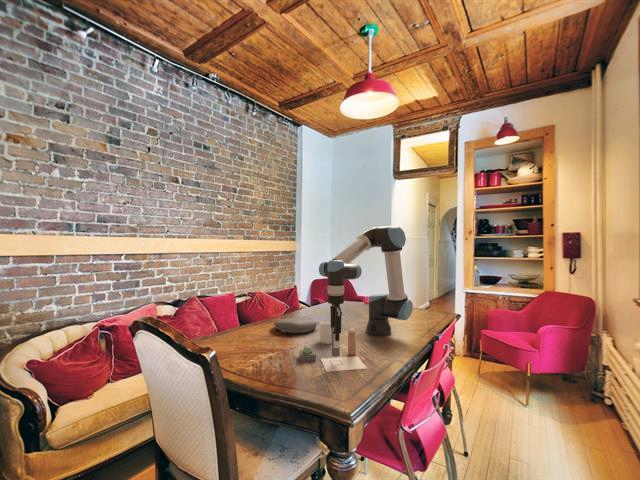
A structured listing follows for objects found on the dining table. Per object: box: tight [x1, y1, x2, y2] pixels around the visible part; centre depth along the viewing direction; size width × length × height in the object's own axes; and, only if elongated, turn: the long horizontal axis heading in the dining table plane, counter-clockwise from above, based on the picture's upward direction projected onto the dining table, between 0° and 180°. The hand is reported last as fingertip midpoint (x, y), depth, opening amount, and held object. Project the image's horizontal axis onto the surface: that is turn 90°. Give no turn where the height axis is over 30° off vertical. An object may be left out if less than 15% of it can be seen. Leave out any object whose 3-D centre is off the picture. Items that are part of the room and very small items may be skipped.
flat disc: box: [273, 316, 319, 335], centre depth 192 cm, size 28×28×4 cm
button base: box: [298, 348, 317, 363], centre depth 143 cm, size 7×7×3 cm
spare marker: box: [347, 328, 357, 357], centre depth 147 cm, size 4×4×12 cm
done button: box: [302, 345, 313, 354], centre depth 143 cm, size 4×4×4 cm
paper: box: [320, 355, 368, 373], centre depth 136 cm, size 18×14×1 cm
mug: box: [319, 320, 332, 345], centre depth 166 cm, size 9×12×11 cm
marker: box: [331, 327, 341, 358], centre depth 137 cm, size 4×4×12 cm
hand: (335, 346), depth 137 cm, fingers closed on marker, 3 cm apart
